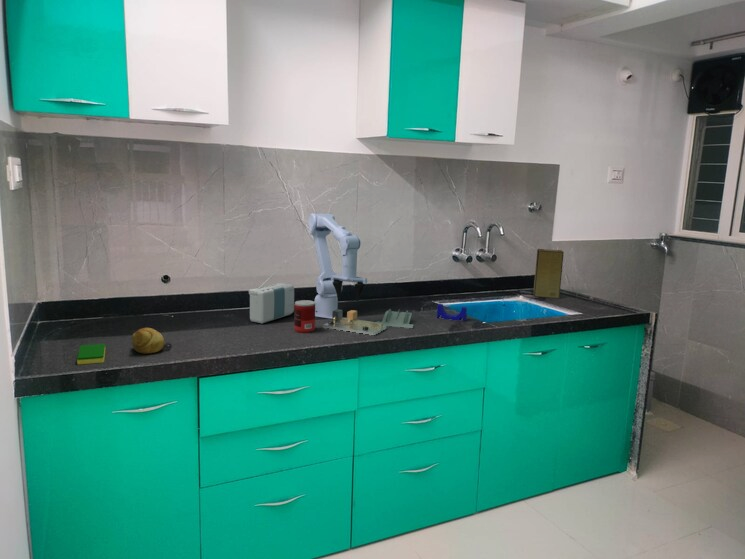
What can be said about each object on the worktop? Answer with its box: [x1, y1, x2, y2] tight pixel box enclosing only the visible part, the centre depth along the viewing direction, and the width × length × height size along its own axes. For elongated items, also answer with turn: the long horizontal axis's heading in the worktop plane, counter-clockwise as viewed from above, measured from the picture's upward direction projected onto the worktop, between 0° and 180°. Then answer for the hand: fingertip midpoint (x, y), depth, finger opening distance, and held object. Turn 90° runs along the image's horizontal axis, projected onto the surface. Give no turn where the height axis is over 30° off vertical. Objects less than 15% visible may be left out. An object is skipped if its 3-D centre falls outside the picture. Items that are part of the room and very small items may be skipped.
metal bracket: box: [376, 308, 414, 329], centre depth 228 cm, size 14×6×15 cm
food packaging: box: [532, 248, 564, 300], centre depth 297 cm, size 13×9×25 cm
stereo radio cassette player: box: [248, 267, 295, 325], centre depth 226 cm, size 21×8×20 cm, turn 152°
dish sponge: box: [76, 343, 106, 366], centre depth 172 cm, size 7×14×2 cm, turn 23°
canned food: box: [293, 299, 316, 334], centre depth 211 cm, size 8×8×11 cm
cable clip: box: [436, 303, 468, 322], centre depth 239 cm, size 12×4×6 cm, turn 69°
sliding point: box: [346, 309, 358, 324], centre depth 220 cm, size 2×5×4 cm, turn 156°
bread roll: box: [131, 327, 166, 355], centre depth 181 cm, size 13×10×8 cm
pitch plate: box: [322, 308, 388, 336], centre depth 217 cm, size 22×12×6 cm, turn 66°
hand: (348, 299), depth 220 cm, fingers open, 7 cm apart
